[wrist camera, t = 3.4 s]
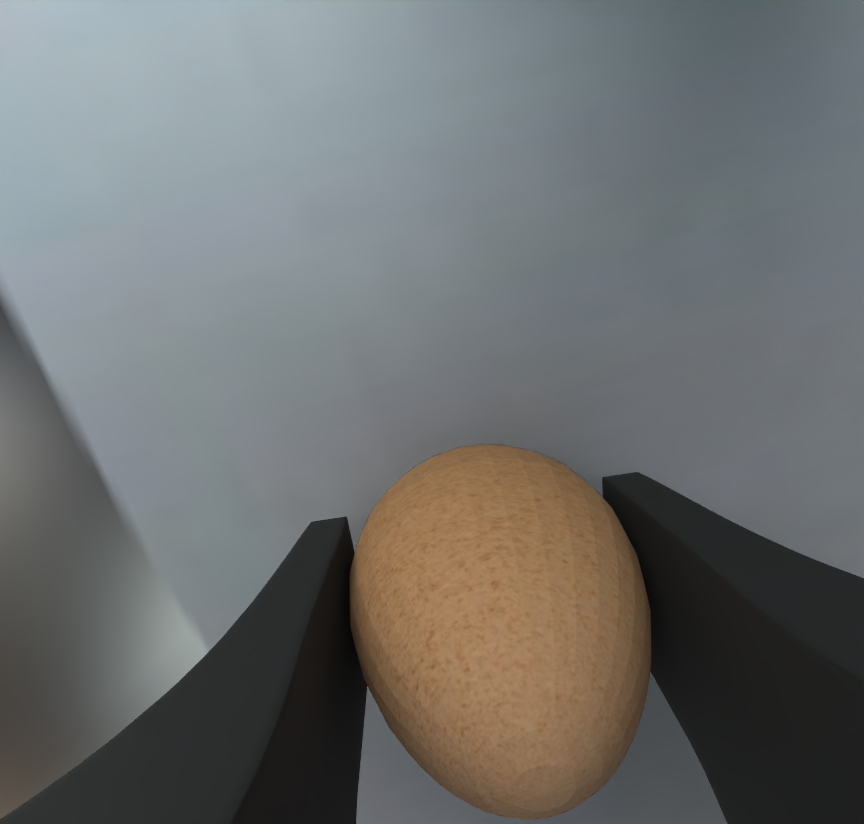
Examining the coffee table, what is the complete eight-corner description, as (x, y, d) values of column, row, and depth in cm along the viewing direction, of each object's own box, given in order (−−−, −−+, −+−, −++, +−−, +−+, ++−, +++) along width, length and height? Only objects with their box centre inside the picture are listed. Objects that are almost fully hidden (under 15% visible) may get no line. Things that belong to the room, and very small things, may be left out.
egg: (433, 352, 11) (487, 556, 6) (630, 464, 12) (835, 725, 7) (312, 542, 12) (259, 860, 7) (501, 628, 14) (584, 958, 8)
